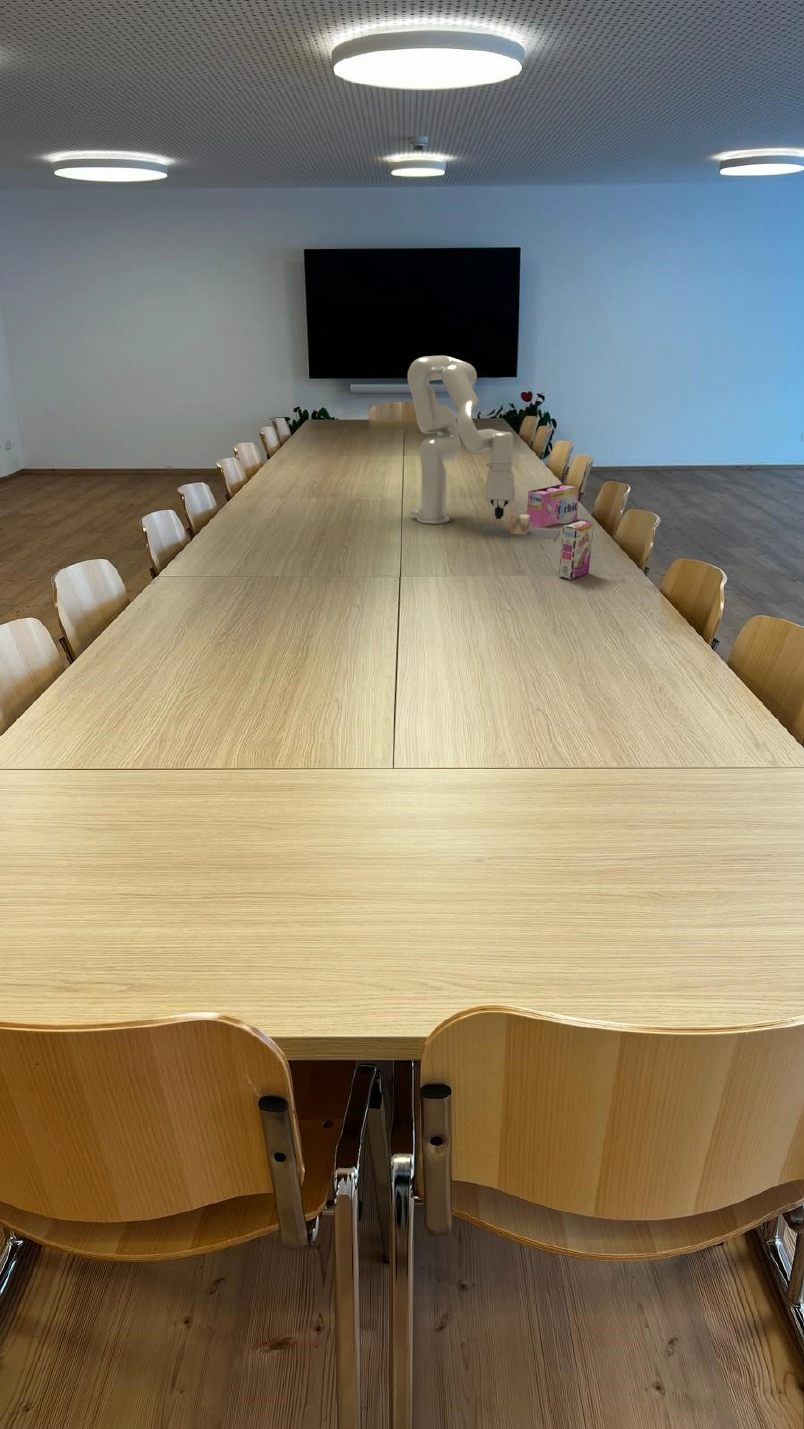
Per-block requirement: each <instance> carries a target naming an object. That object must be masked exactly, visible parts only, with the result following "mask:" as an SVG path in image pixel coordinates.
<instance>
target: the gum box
mask: <svg viewBox="0 0 804 1429" xmlns="http://www.w3.org/2000/svg"><path fill="white" fill-rule="evenodd" d="M579 488H580V487H579V485H576V486H573V485H572V486H571V485H568V484H567V483H561V484H560V483H559V484H556V485H551V486H547V487H542V488H539V489H538V488H537V489H532V490H528V491H527V492H528V493H527V507H526V508H527V509H526V515H530V522H529V526H534V527H537V528H545V527H550V526H553V525H557V524H563V525H566V523H567V524H571V523H574V522H573V521H575V522H577V521H578V512H579V510H578V509H579V492H580V491H579ZM576 520H577V521H576ZM570 522H571V523H570Z"/></svg>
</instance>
